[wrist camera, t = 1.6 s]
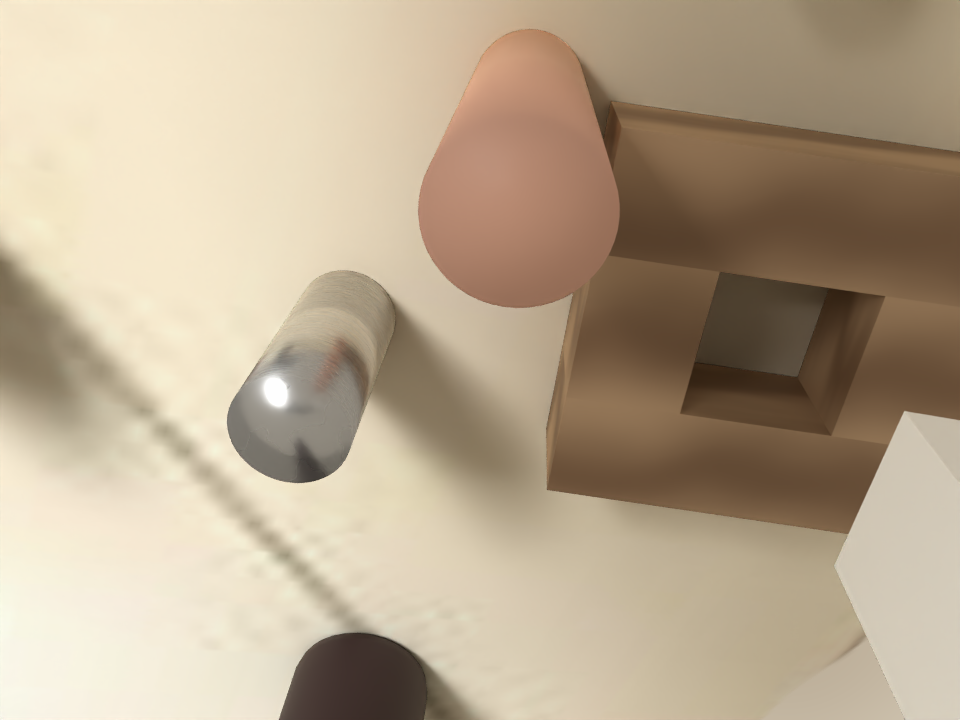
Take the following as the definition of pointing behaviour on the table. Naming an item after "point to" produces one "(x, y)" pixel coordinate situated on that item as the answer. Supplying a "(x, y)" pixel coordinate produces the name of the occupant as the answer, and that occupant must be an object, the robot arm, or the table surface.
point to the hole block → (770, 255)
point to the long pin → (521, 179)
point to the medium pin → (314, 380)
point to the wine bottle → (356, 681)
